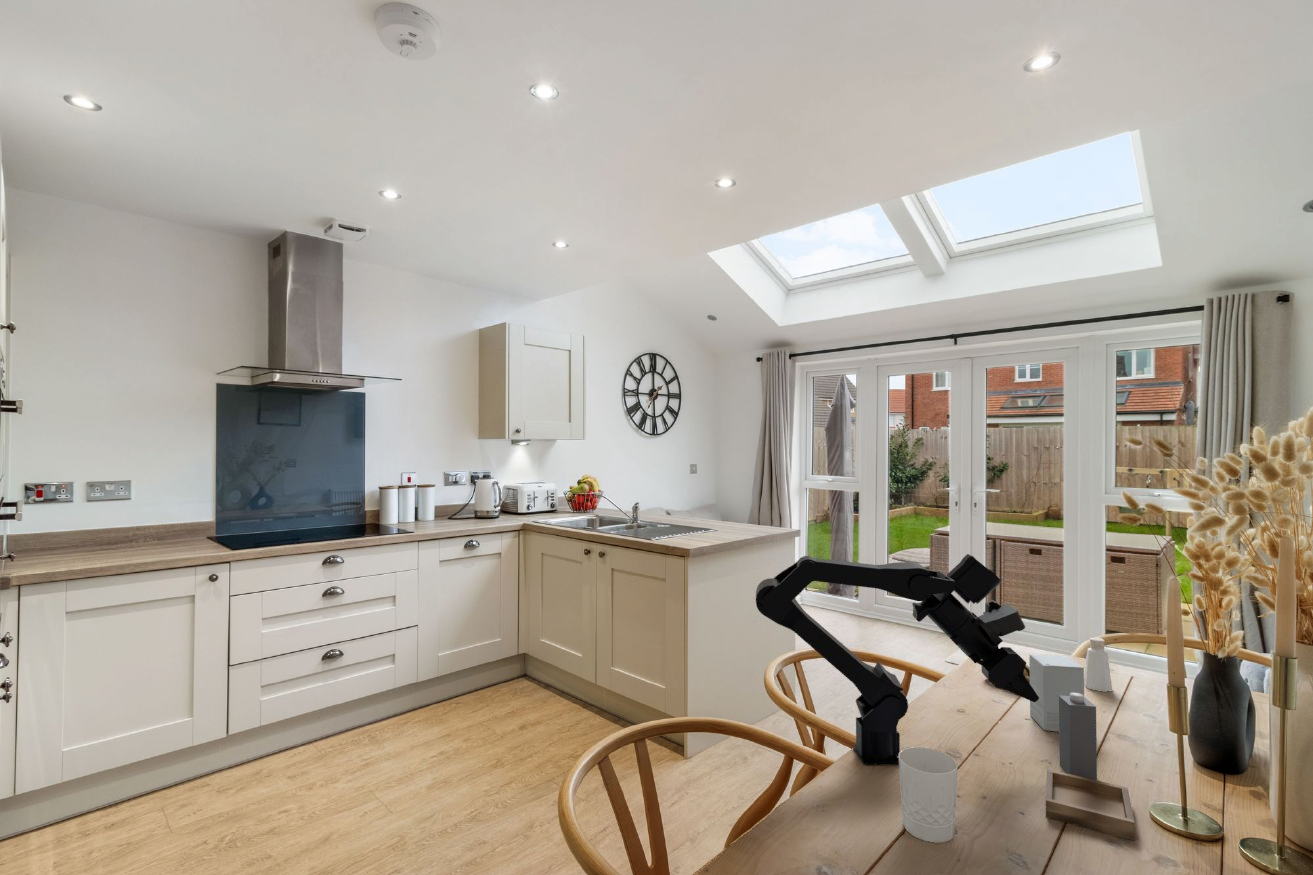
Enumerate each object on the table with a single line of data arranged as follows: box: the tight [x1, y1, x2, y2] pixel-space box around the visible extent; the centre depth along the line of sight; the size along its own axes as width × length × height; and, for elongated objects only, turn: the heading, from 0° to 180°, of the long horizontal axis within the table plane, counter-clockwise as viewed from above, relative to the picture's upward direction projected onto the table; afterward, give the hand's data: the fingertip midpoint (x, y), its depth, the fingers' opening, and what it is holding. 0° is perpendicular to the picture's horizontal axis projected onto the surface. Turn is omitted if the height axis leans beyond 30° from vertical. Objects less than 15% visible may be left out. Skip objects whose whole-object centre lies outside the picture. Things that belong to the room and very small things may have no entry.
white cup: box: [897, 746, 959, 844], centre depth 92 cm, size 8×8×10 cm
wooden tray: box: [1045, 768, 1136, 841], centre depth 96 cm, size 11×11×2 cm
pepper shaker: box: [1084, 637, 1113, 693], centre depth 143 cm, size 5×5×11 cm
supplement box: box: [1028, 653, 1085, 732], centre depth 125 cm, size 7×7×13 cm
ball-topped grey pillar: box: [1058, 693, 1098, 780], centre depth 107 cm, size 4×4×13 cm
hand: (1025, 689), depth 108 cm, fingers open, 9 cm apart
